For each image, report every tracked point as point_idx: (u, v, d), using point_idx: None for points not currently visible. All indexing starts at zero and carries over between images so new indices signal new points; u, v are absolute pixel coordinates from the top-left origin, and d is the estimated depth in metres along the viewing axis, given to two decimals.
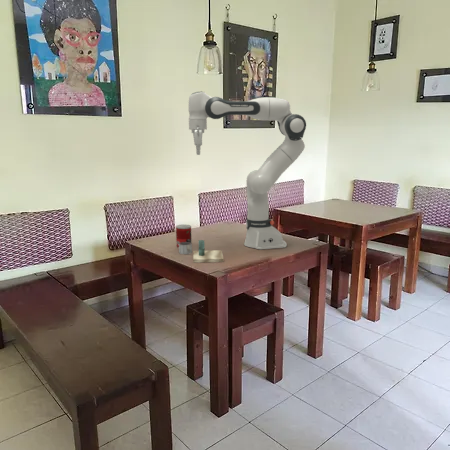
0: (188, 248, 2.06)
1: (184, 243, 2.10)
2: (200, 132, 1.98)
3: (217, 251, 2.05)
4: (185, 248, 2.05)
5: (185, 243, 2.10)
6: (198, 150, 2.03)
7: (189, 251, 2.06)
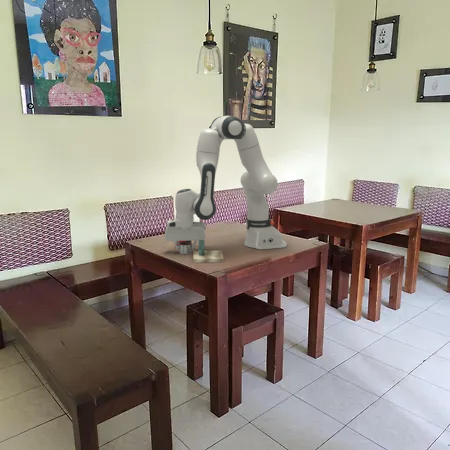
0: (188, 248, 2.06)
1: (184, 243, 2.10)
2: None
3: (217, 251, 2.05)
4: (185, 248, 2.05)
5: (185, 243, 2.10)
6: (195, 244, 2.08)
7: (189, 251, 2.06)
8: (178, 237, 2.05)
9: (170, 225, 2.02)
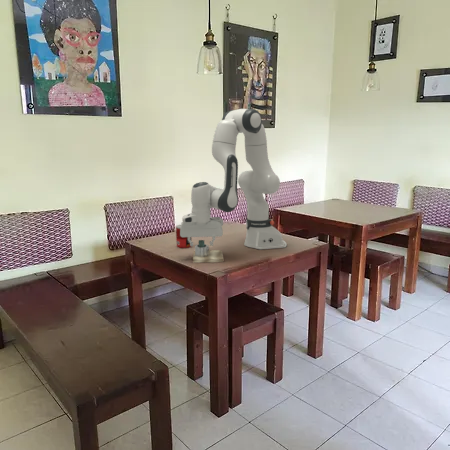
0: (205, 251, 1.96)
1: None
2: None
3: (217, 251, 2.05)
4: (202, 251, 1.96)
5: None
6: (213, 240, 1.98)
7: (206, 254, 1.97)
8: (194, 233, 1.95)
9: (186, 220, 1.92)
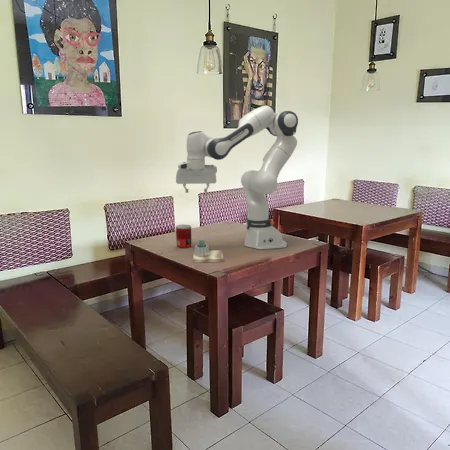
0: (205, 251, 1.96)
1: None
2: None
3: (217, 251, 2.05)
4: (202, 251, 1.96)
5: None
6: (207, 188, 2.09)
7: (206, 254, 1.97)
8: (189, 180, 2.06)
9: (181, 167, 2.03)
